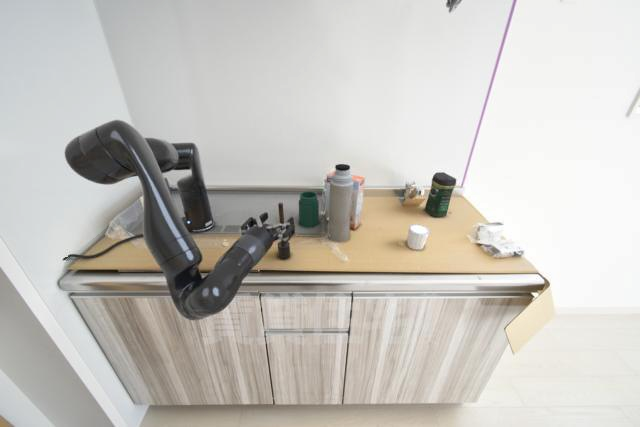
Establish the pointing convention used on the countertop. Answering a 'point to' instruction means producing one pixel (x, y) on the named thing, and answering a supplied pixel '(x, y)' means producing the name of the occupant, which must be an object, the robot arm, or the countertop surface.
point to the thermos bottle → (340, 203)
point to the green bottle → (308, 209)
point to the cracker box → (356, 199)
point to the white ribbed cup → (417, 236)
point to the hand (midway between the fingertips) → (279, 217)
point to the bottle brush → (282, 247)
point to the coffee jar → (440, 194)
